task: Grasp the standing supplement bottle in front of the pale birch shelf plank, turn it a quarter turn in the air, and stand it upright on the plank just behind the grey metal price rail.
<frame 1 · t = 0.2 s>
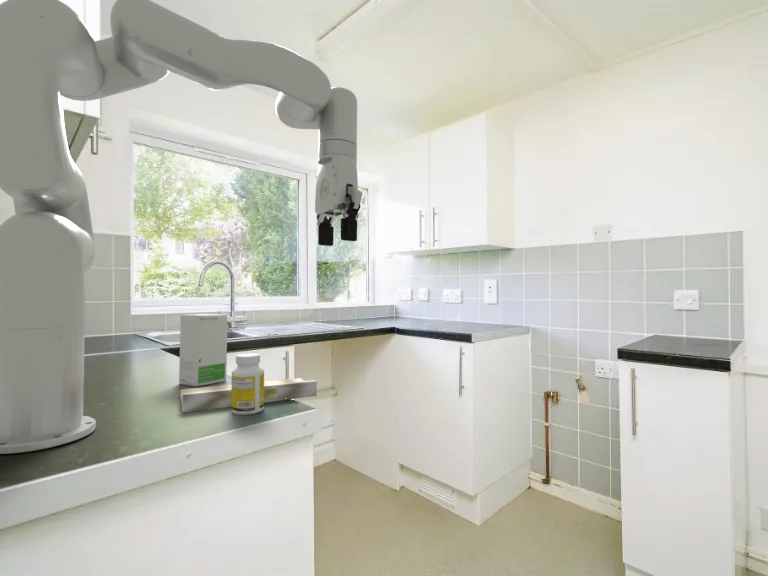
hand: (336, 243, 78), 31 cm above the counter, tool pointing down, fingers open, 9 cm apart
skincare box: (203, 383, 91), on the counter
supplement bottle: (247, 412, 69), on the counter
shelf plank: (248, 396, 79), on the counter
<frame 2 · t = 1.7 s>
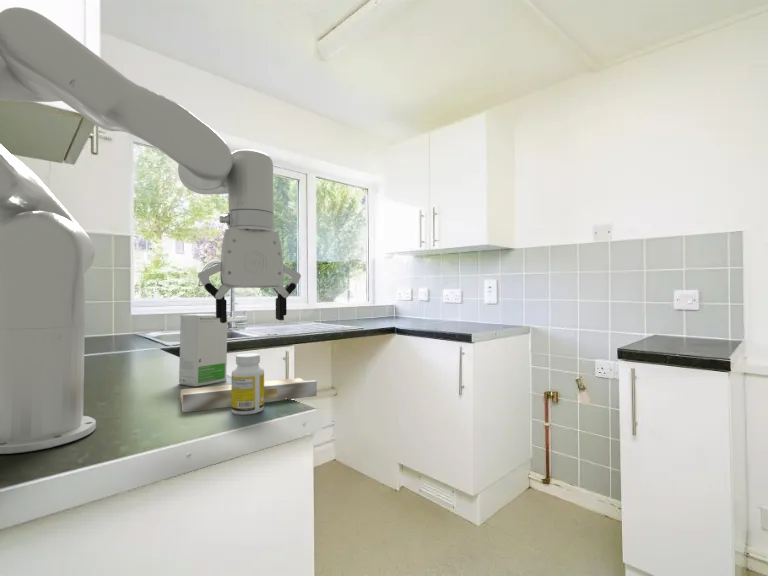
hand: (252, 321, 70), 16 cm above the counter, tool pointing down, fingers open, 9 cm apart
nothing on the counter moved.
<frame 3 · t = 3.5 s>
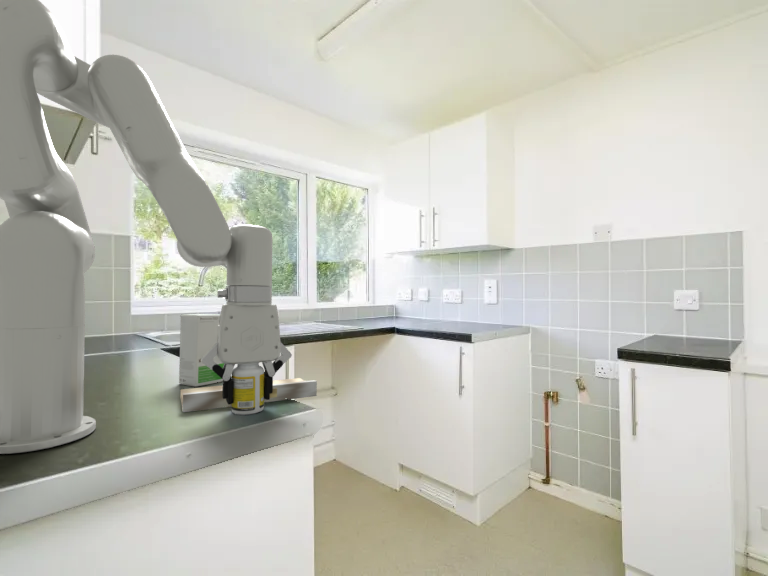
hand: (247, 399, 69), 2 cm above the counter, tool pointing down, fingers closed on supplement bottle, 5 cm apart
supplement bottle: (247, 412, 69), on the counter, touching gripper
everything else where it was.
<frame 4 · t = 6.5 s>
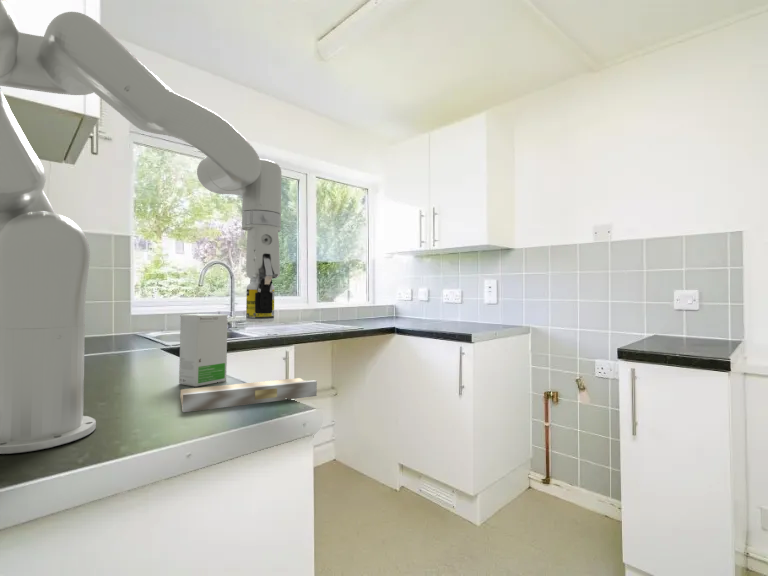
hand: (260, 311, 80), 17 cm above the counter, tool pointing down, fingers closed on supplement bottle, 5 cm apart
supplement bottle: (260, 322, 80), point 15 cm above the counter, touching gripper
everything else where it was.
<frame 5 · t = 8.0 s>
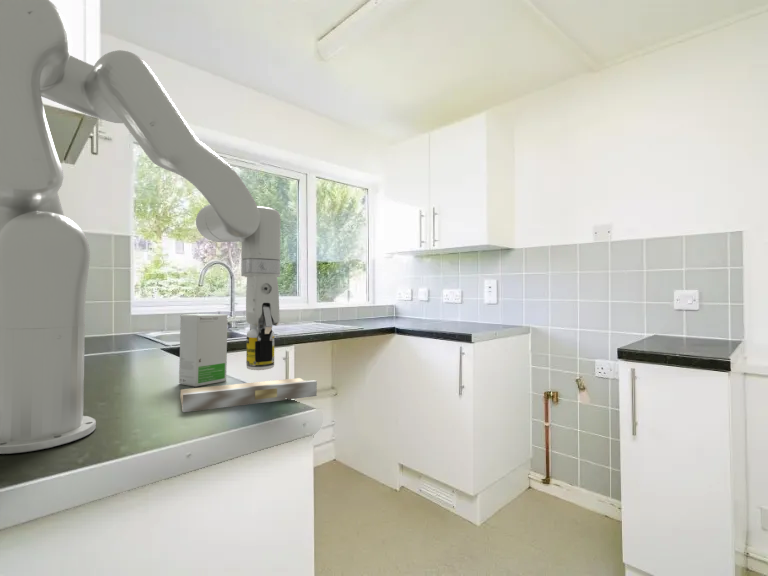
hand: (260, 358, 80), 7 cm above the counter, tool pointing down, fingers closed on supplement bottle, 5 cm apart
supplement bottle: (260, 369, 80), point 5 cm above the counter, touching gripper
everything else where it was.
when the fingers open (5 cm above the counter, at t = 9.4 s): supplement bottle drops 1 cm, resting on shelf plank.
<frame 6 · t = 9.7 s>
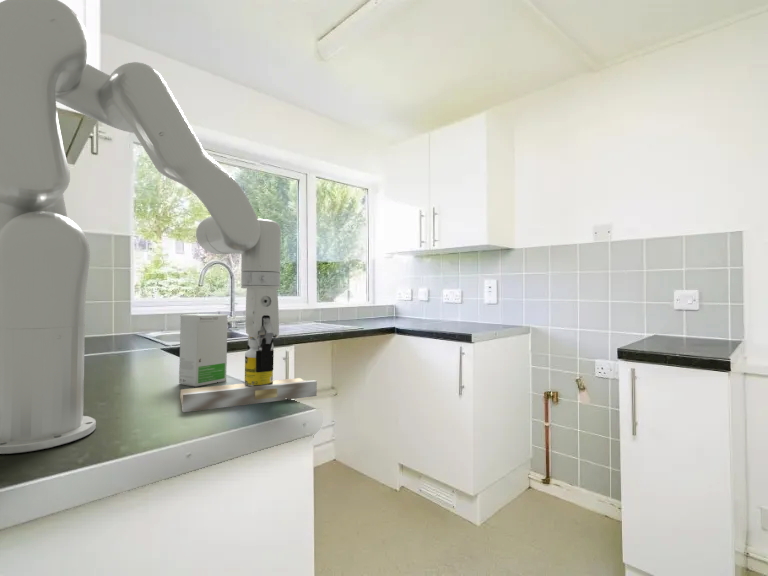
hand: (259, 367, 80), 6 cm above the counter, tool pointing down, fingers open, 8 cm apart
supplement bottle: (258, 388, 80), point 1 cm above the counter, touching shelf plank
everything else where it was.
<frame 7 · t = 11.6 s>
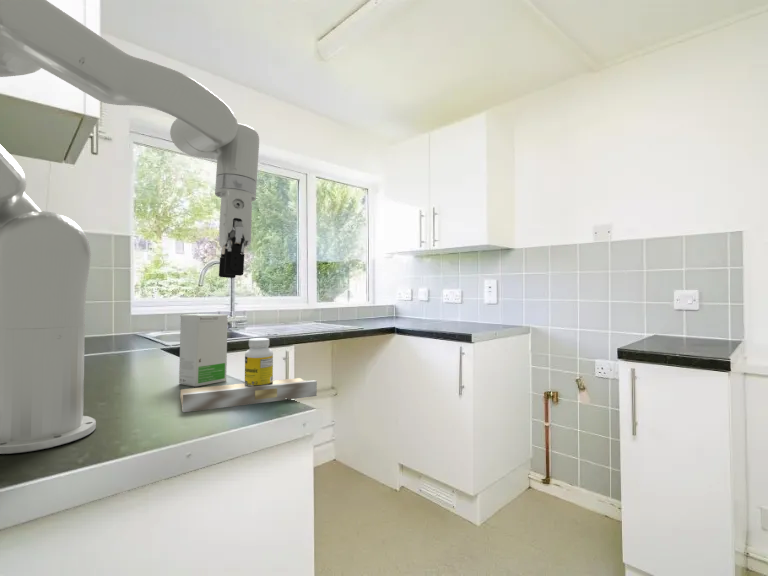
hand: (230, 276, 77), 24 cm above the counter, tool pointing down, fingers open, 9 cm apart
nothing on the counter moved.
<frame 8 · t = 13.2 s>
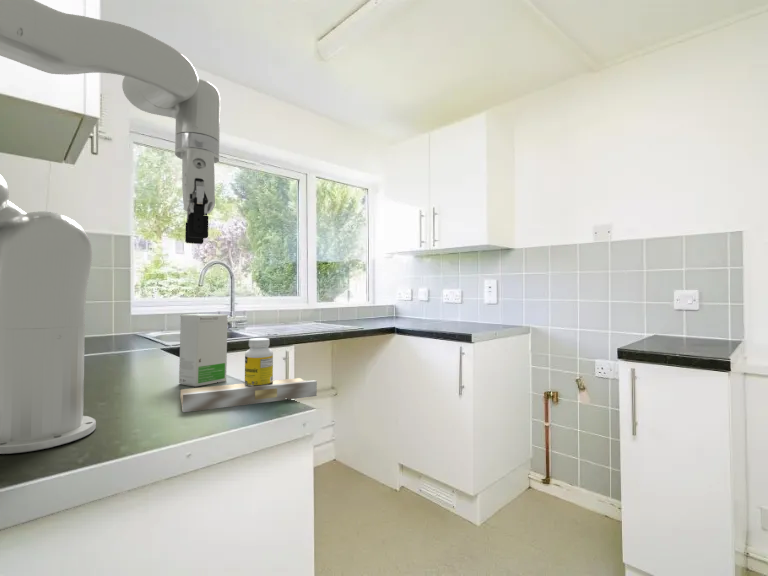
hand: (196, 240, 75), 30 cm above the counter, tool pointing down, fingers open, 9 cm apart
nothing on the counter moved.
at the end: supplement bottle inside the target area (0.2 cm from its centre), point 1.3 cm above the counter; supplement bottle tilted 0°; the gripper is holding nothing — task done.
